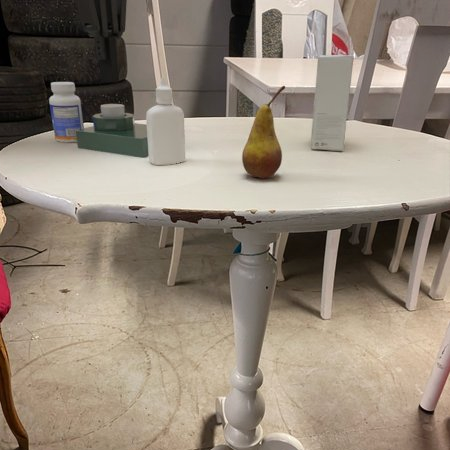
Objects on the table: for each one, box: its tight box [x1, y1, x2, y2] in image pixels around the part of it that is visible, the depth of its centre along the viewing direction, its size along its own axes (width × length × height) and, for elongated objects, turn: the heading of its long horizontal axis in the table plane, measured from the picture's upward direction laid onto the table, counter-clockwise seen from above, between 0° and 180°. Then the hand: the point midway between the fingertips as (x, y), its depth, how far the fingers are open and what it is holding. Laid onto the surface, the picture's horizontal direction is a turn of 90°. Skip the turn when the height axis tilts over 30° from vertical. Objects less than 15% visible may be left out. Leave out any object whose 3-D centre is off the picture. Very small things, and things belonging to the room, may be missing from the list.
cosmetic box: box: [310, 54, 355, 152], centre depth 82 cm, size 8×6×15 cm
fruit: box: [241, 85, 286, 179], centre depth 64 cm, size 6×6×12 cm
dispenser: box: [76, 112, 149, 158], centre depth 81 cm, size 14×11×5 cm
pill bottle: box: [48, 81, 85, 144], centre depth 85 cm, size 5×5×10 cm
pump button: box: [100, 103, 126, 118], centre depth 81 cm, size 4×4×2 cm
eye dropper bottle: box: [145, 77, 186, 166], centre depth 70 cm, size 4×6×12 cm
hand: (110, 81), depth 79 cm, fingers closed
